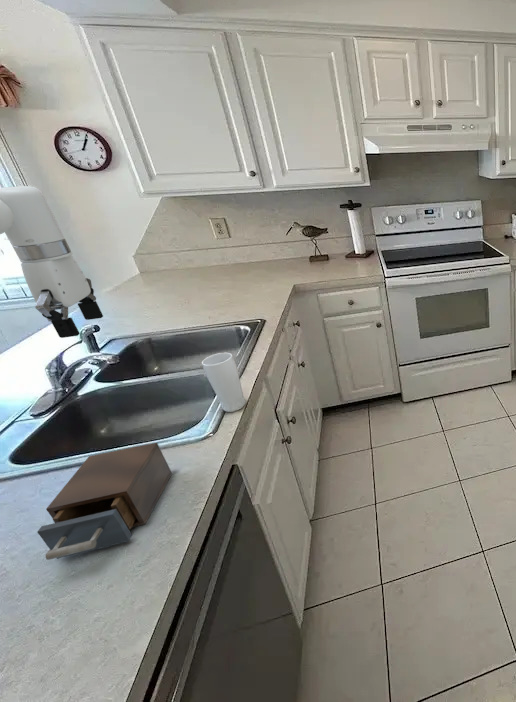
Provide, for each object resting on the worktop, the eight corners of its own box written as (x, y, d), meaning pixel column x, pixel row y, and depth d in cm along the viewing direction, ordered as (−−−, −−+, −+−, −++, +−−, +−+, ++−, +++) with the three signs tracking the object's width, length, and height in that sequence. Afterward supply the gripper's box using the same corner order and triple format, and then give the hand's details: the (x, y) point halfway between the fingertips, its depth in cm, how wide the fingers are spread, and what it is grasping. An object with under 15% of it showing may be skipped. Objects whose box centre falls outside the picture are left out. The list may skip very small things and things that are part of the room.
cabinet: (145, 524, 77) (126, 491, 74) (69, 542, 74) (45, 509, 70) (172, 473, 89) (157, 442, 85) (107, 487, 86) (89, 456, 82)
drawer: (118, 560, 70) (100, 533, 67) (42, 580, 67) (20, 552, 64) (157, 489, 84) (144, 463, 81) (95, 503, 81) (79, 477, 78)
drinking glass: (254, 402, 112) (238, 355, 106) (231, 417, 106) (212, 367, 100) (238, 397, 115) (221, 350, 108) (214, 411, 109) (195, 362, 103)
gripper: (47, 243, 89) (83, 315, 97) (-13, 264, 75) (36, 347, 82) (89, 239, 92) (121, 310, 99) (39, 259, 77) (82, 340, 84)
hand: (83, 326), depth 90 cm, fingers open, 9 cm apart
